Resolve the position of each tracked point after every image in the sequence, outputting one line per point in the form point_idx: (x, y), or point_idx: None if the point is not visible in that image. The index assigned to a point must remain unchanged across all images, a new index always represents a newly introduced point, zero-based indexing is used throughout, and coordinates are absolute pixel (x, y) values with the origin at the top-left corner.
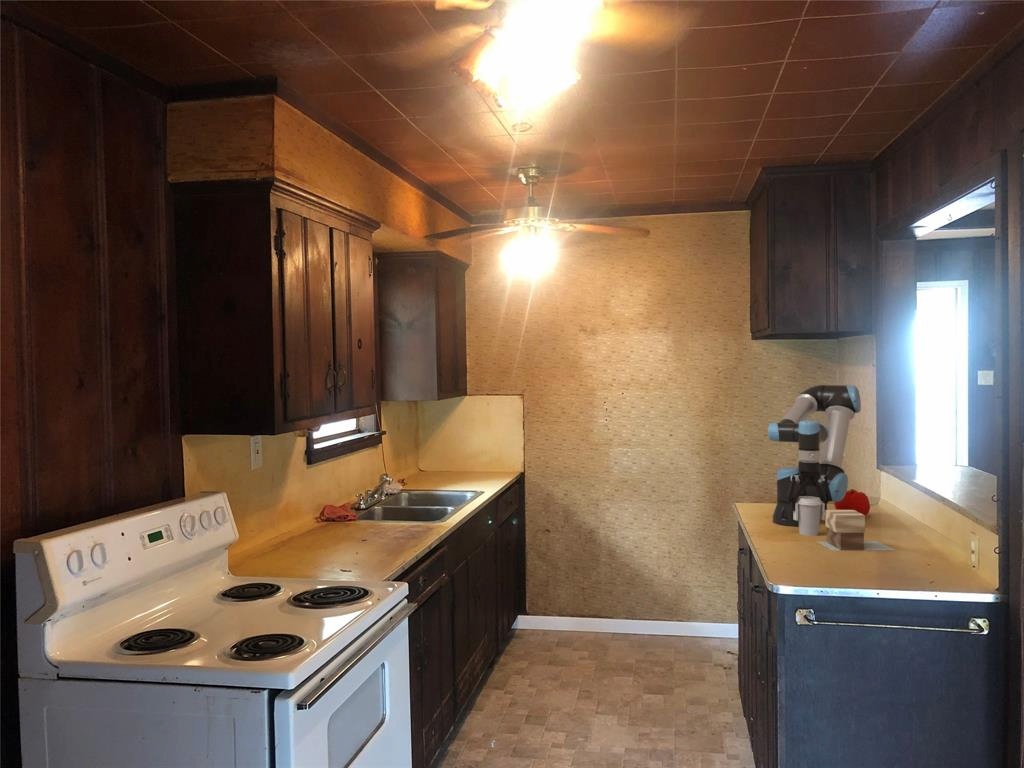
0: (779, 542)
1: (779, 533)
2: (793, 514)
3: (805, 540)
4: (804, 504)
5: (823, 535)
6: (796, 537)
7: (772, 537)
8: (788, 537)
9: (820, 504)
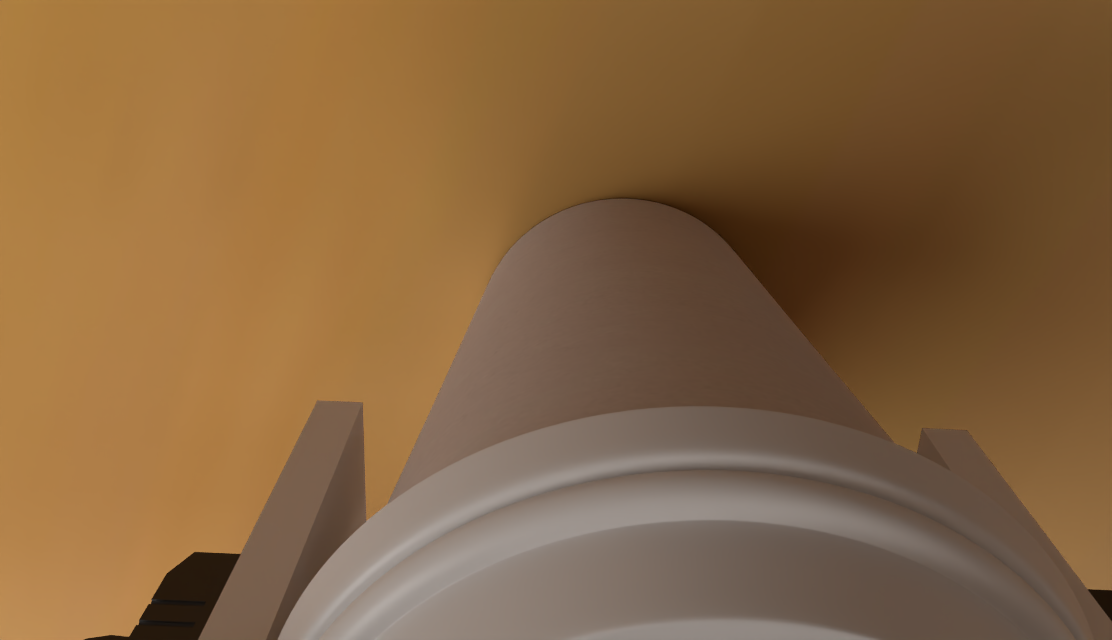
0: (58, 603)
1: (208, 31)
2: (290, 463)
3: None
4: None
5: (918, 248)
6: (405, 347)
7: (17, 318)
8: (277, 337)
9: None
